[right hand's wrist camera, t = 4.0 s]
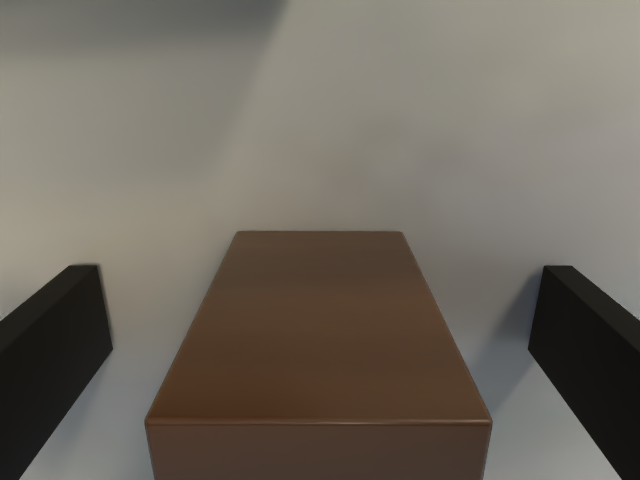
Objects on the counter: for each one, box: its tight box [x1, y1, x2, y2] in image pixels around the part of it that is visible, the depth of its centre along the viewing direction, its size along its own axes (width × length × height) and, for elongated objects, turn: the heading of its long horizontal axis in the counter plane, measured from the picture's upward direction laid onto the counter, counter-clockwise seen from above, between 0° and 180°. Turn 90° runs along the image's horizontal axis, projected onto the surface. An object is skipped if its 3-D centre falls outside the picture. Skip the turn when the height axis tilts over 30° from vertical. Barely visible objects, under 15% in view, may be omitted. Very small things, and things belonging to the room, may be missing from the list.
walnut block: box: [145, 232, 493, 480], centre depth 10 cm, size 4×4×7 cm
